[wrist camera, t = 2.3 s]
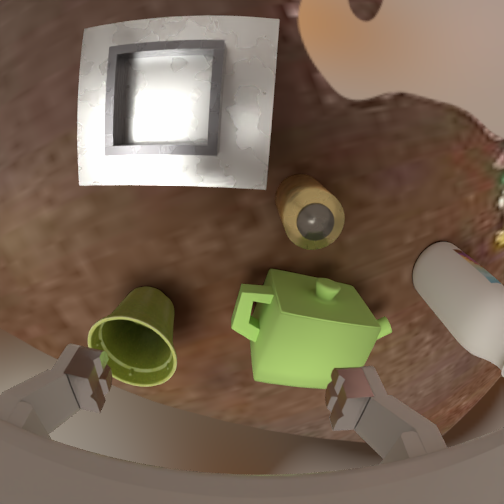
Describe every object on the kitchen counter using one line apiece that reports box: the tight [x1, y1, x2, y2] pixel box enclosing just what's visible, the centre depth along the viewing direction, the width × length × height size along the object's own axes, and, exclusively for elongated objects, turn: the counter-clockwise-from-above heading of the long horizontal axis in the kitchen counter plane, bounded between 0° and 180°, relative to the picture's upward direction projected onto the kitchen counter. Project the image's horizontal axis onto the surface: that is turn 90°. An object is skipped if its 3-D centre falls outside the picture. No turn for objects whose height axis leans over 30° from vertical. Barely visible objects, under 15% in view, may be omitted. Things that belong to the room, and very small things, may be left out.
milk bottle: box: [413, 242, 504, 377], centre depth 26 cm, size 8×8×20 cm
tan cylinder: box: [275, 174, 345, 250], centre depth 28 cm, size 5×5×8 cm
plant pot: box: [88, 287, 177, 387], centre depth 32 cm, size 9×9×9 cm
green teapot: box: [231, 269, 392, 389], centre depth 32 cm, size 18×10×10 cm, turn 75°
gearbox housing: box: [77, 16, 280, 190], centre depth 23 cm, size 14×16×8 cm
